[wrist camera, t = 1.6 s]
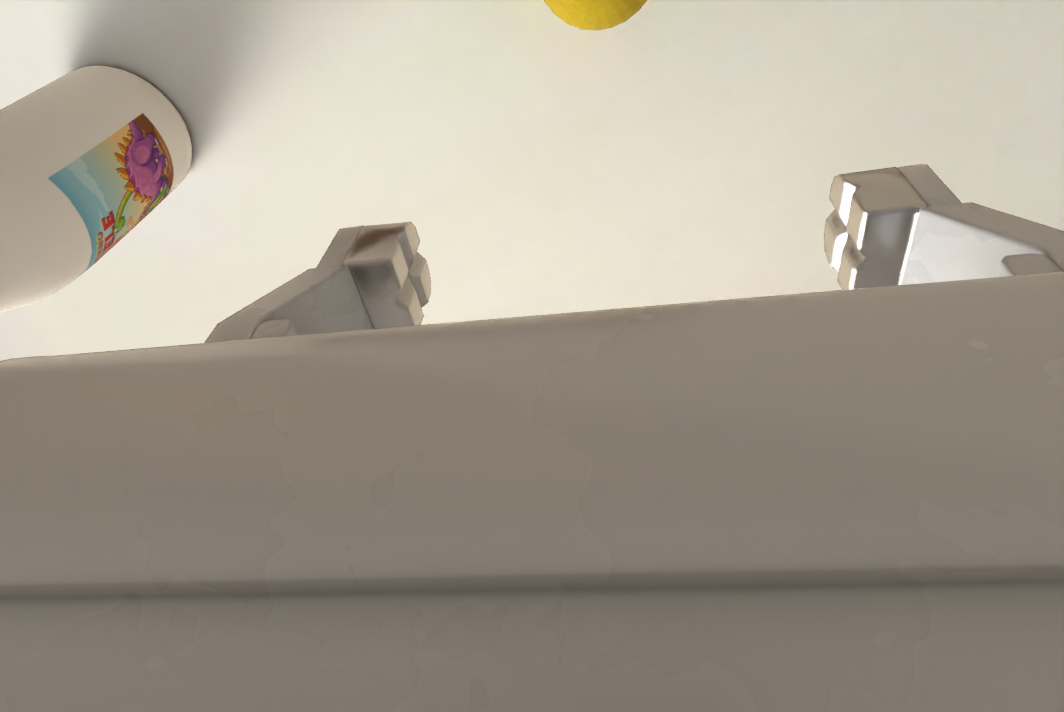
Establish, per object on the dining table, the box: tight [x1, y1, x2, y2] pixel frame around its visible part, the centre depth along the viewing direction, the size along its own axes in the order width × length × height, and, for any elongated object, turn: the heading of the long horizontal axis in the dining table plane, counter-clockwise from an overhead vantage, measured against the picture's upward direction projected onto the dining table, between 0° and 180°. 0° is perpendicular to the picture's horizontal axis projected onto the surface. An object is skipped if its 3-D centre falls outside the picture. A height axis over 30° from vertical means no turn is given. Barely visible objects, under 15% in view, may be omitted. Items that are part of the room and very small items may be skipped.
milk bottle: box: [0, 66, 192, 312], centre depth 32 cm, size 8×8×20 cm
